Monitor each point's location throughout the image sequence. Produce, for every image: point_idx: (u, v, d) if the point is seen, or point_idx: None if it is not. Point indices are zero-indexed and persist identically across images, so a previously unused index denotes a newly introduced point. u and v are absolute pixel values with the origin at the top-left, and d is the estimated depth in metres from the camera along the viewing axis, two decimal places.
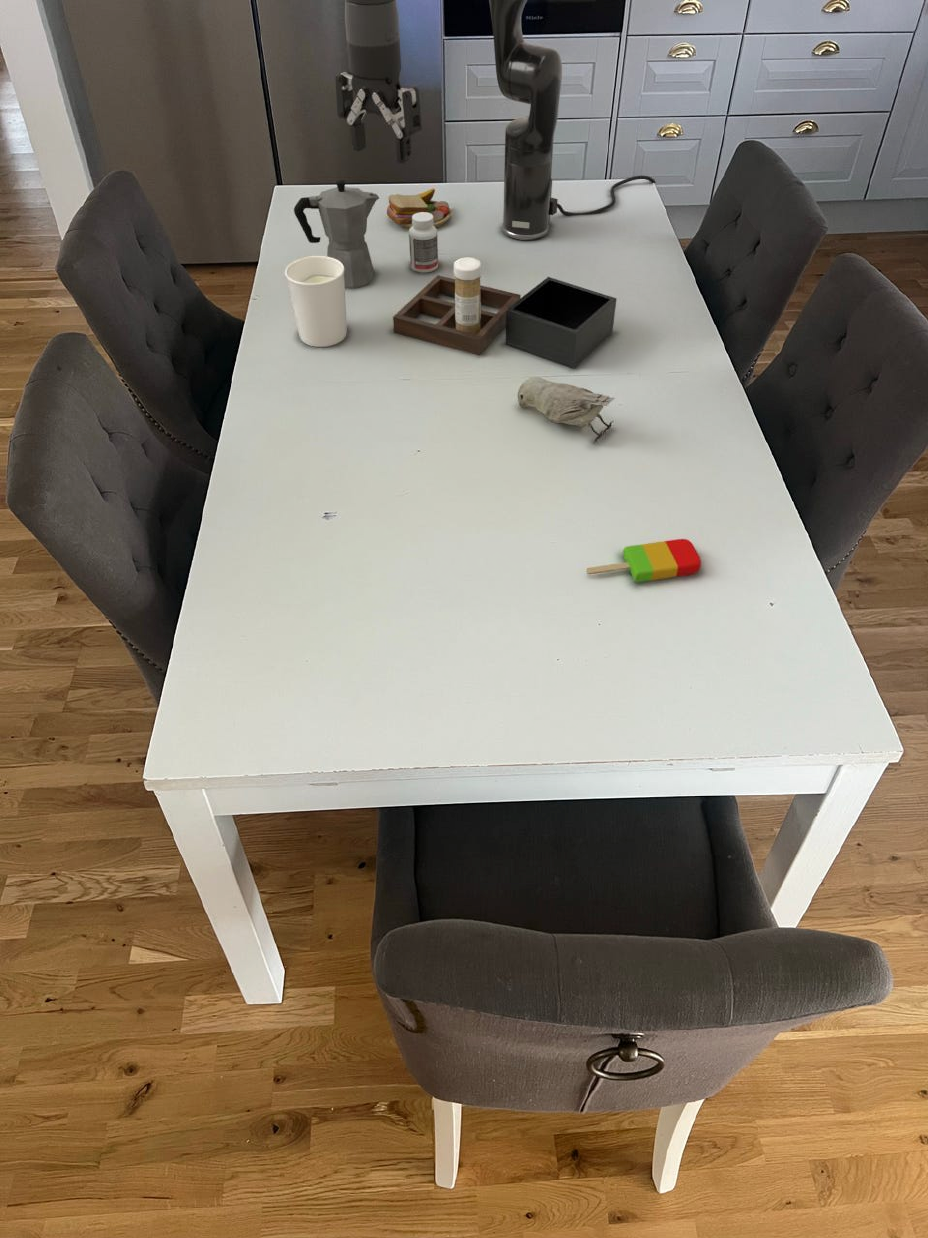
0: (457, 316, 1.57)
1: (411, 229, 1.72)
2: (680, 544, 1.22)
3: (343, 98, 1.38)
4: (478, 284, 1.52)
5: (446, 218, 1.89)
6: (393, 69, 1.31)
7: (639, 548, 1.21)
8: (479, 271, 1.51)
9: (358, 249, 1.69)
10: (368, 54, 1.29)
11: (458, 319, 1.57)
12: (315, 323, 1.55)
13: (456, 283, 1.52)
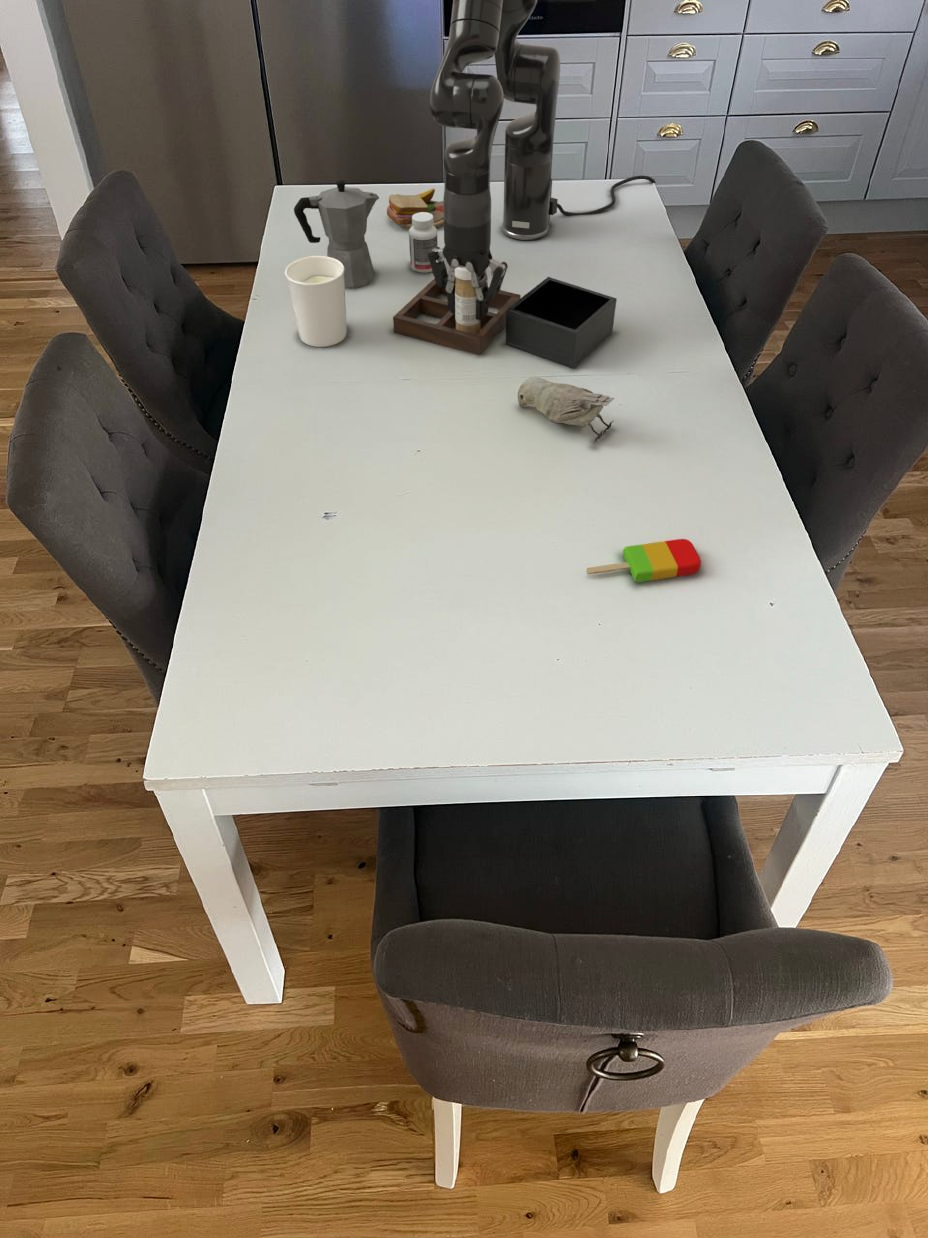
0: (457, 316, 1.57)
1: (411, 229, 1.72)
2: (680, 545, 1.22)
3: (439, 270, 1.53)
4: None
5: None
6: (486, 243, 1.46)
7: (639, 548, 1.21)
8: None
9: (358, 249, 1.69)
10: (467, 233, 1.44)
11: (458, 319, 1.57)
12: (315, 323, 1.55)
13: (456, 283, 1.52)
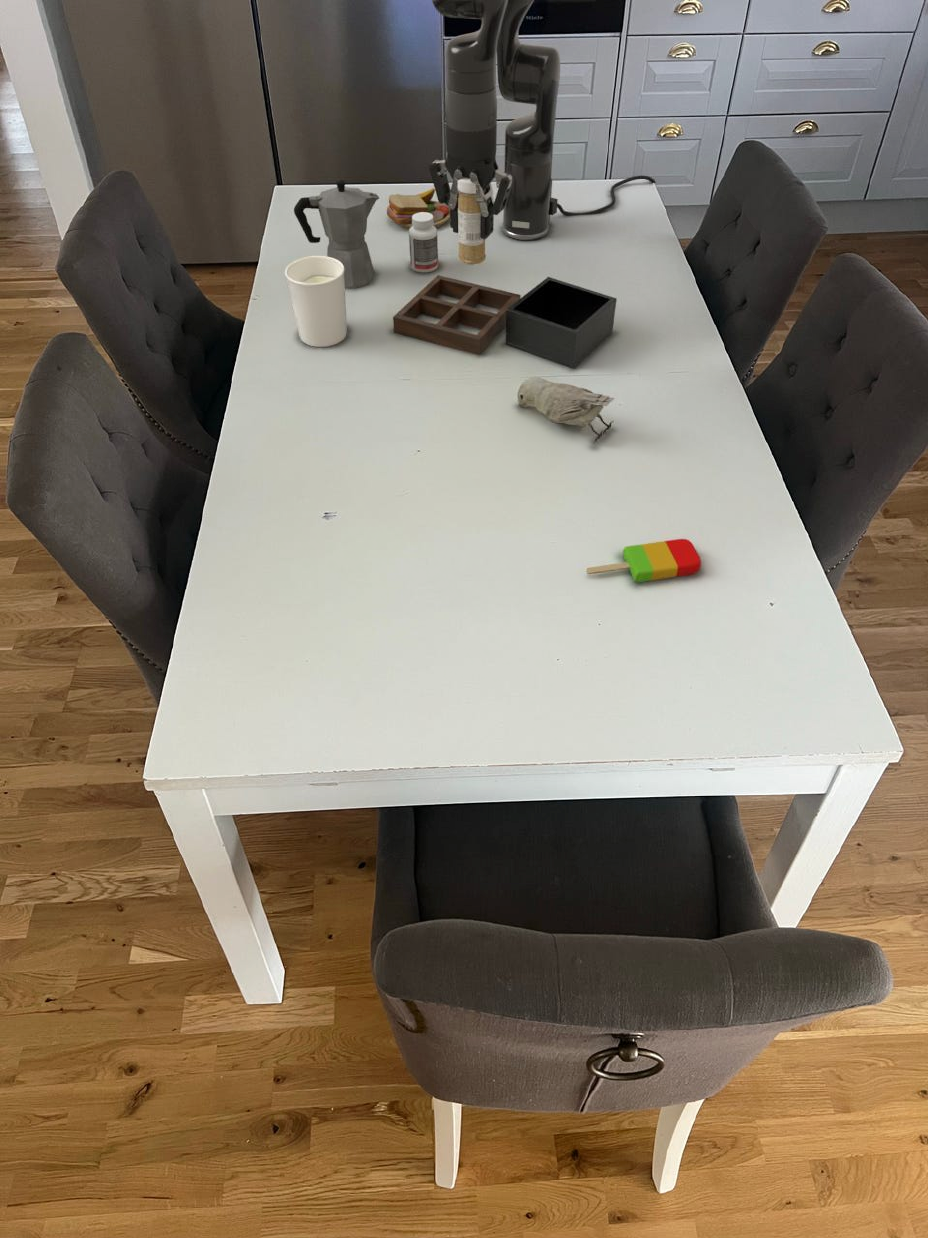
0: (460, 235, 1.46)
1: (411, 229, 1.72)
2: (680, 544, 1.22)
3: (441, 183, 1.43)
4: None
5: (446, 218, 1.89)
6: (492, 150, 1.36)
7: (639, 548, 1.21)
8: None
9: (358, 249, 1.69)
10: (471, 139, 1.33)
11: (461, 238, 1.46)
12: (315, 323, 1.55)
13: (459, 198, 1.42)
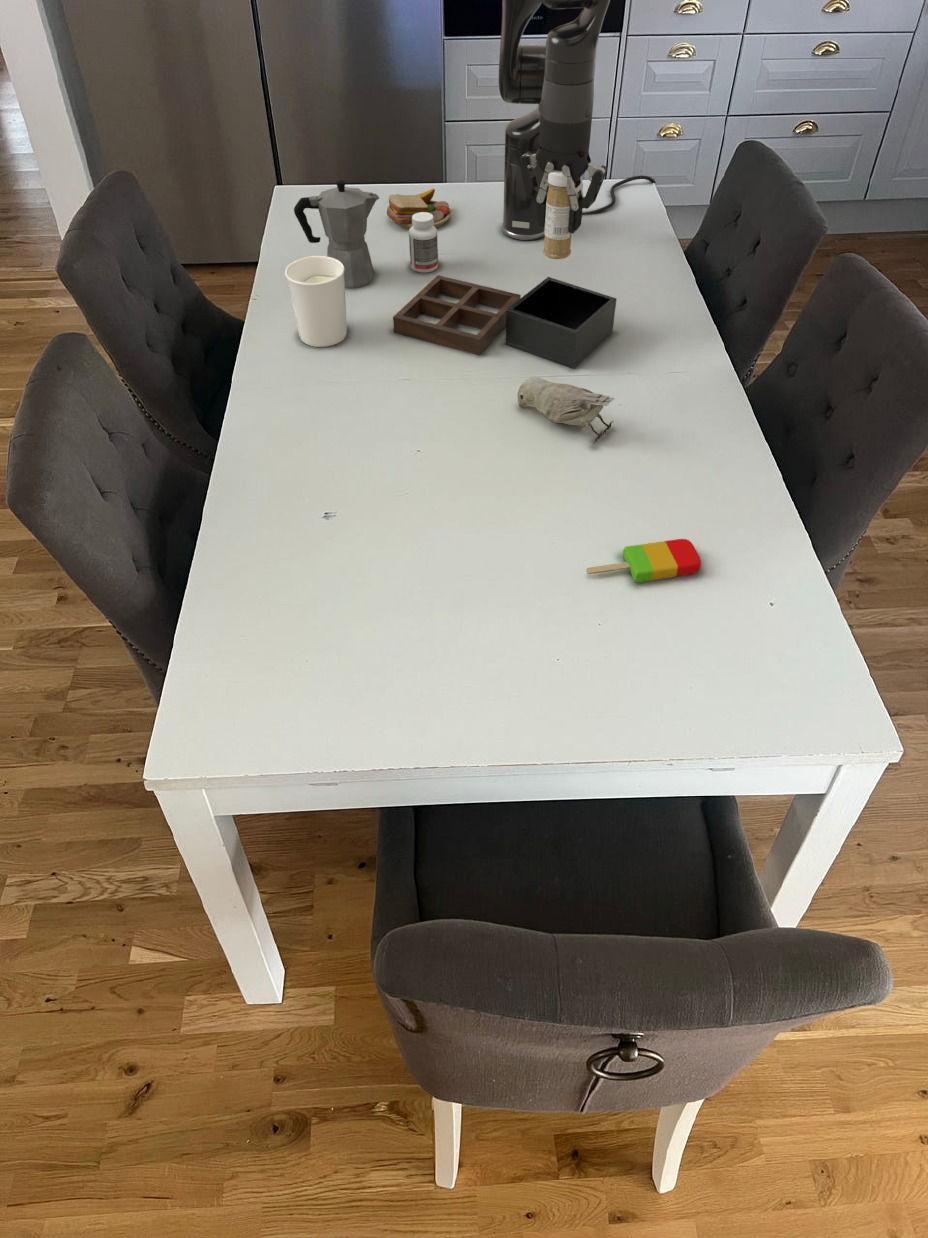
0: (547, 229, 1.45)
1: (411, 229, 1.72)
2: (680, 544, 1.22)
3: (530, 177, 1.41)
4: None
5: (446, 218, 1.89)
6: (586, 143, 1.34)
7: (639, 548, 1.21)
8: None
9: (358, 249, 1.69)
10: (567, 131, 1.32)
11: (548, 232, 1.45)
12: (315, 323, 1.55)
13: (549, 191, 1.41)
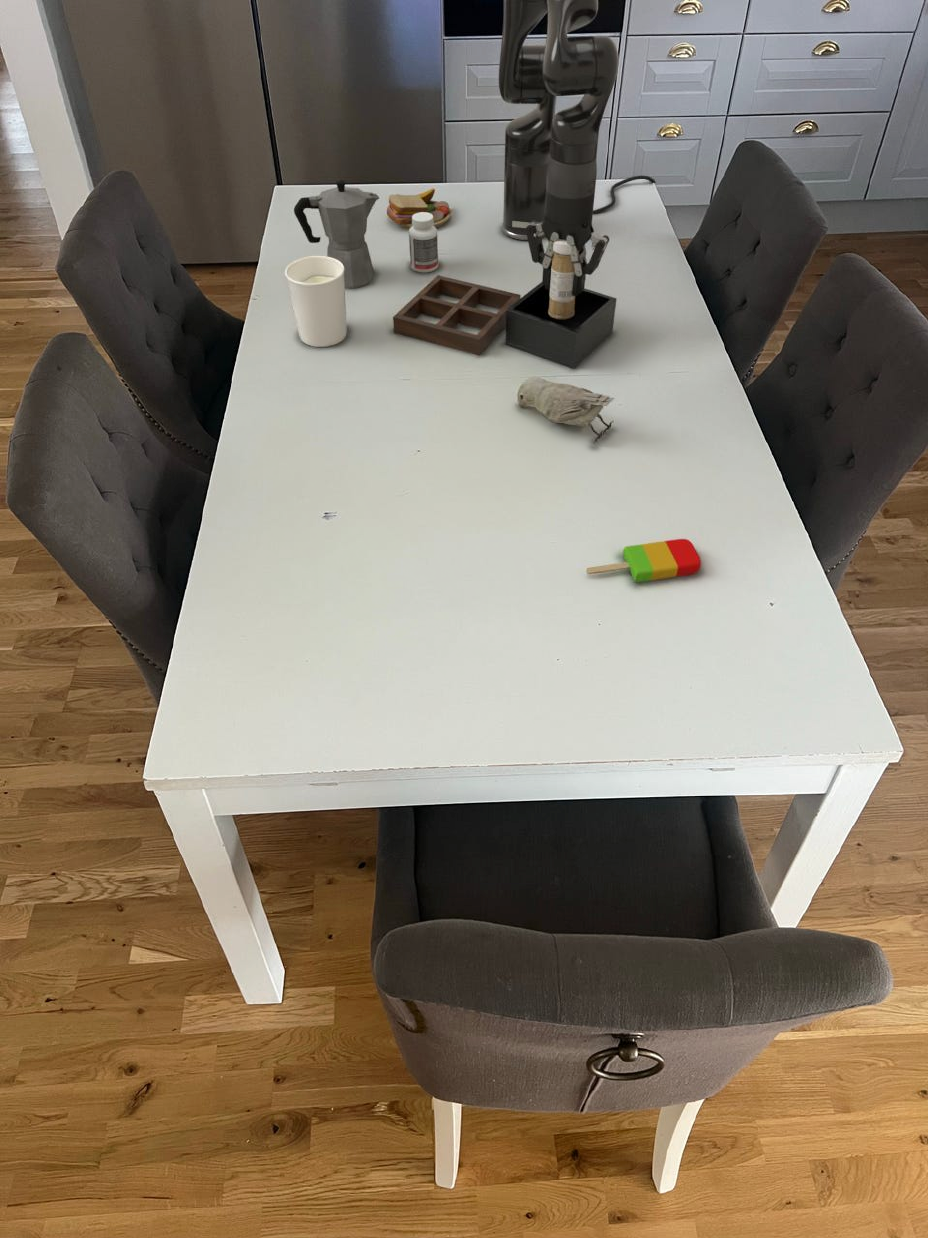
0: (552, 292, 1.52)
1: (411, 229, 1.72)
2: (680, 545, 1.22)
3: (536, 244, 1.49)
4: None
5: (446, 218, 1.89)
6: (590, 215, 1.42)
7: (639, 548, 1.21)
8: None
9: (358, 249, 1.69)
10: (571, 205, 1.40)
11: (553, 295, 1.52)
12: (315, 323, 1.55)
13: (554, 258, 1.48)
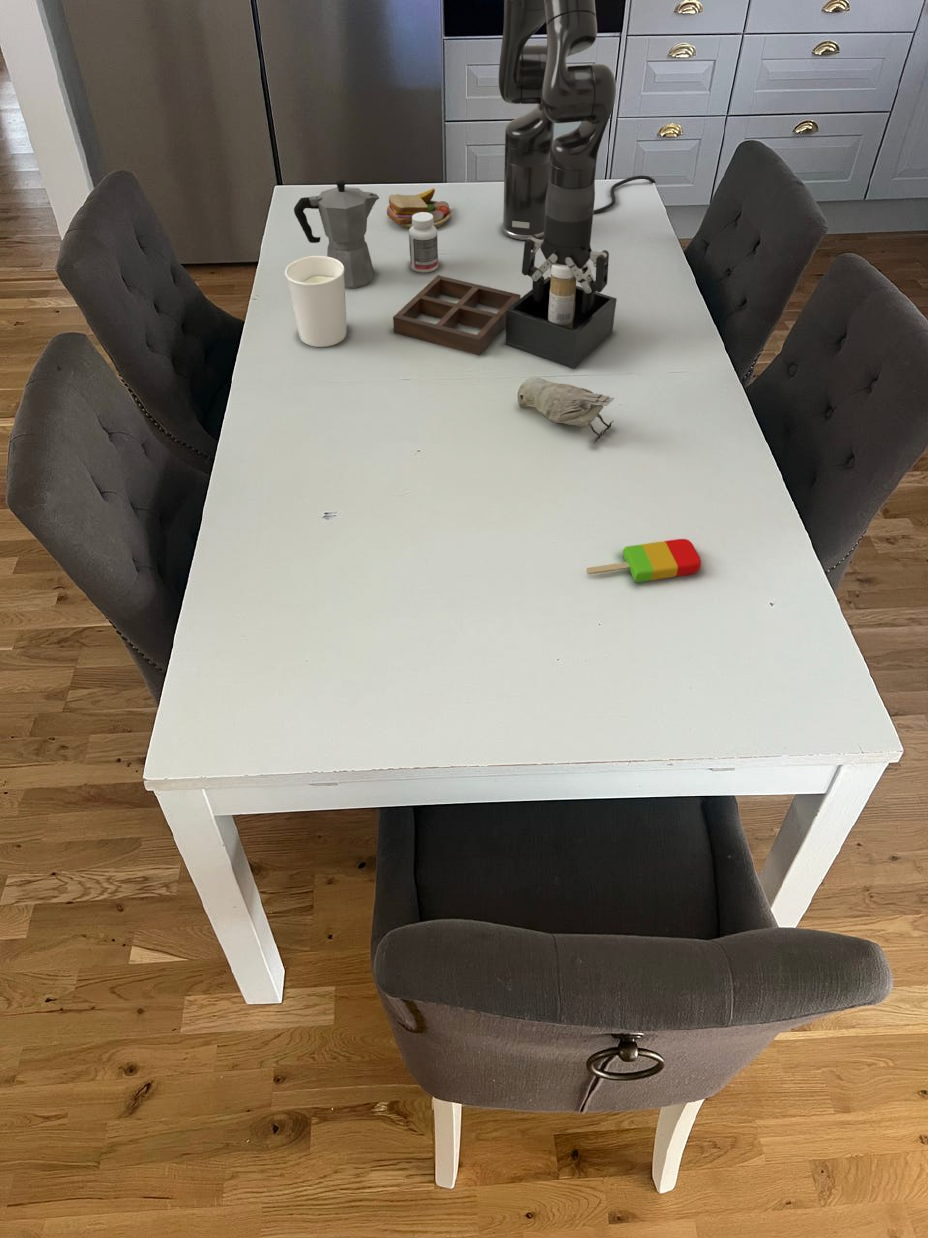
0: (551, 315, 1.55)
1: (411, 229, 1.72)
2: (680, 545, 1.22)
3: (530, 259, 1.51)
4: (574, 283, 1.51)
5: (446, 218, 1.89)
6: (588, 237, 1.45)
7: (639, 548, 1.21)
8: None
9: (358, 249, 1.69)
10: (570, 228, 1.42)
11: (552, 317, 1.56)
12: (315, 323, 1.55)
13: (552, 282, 1.51)
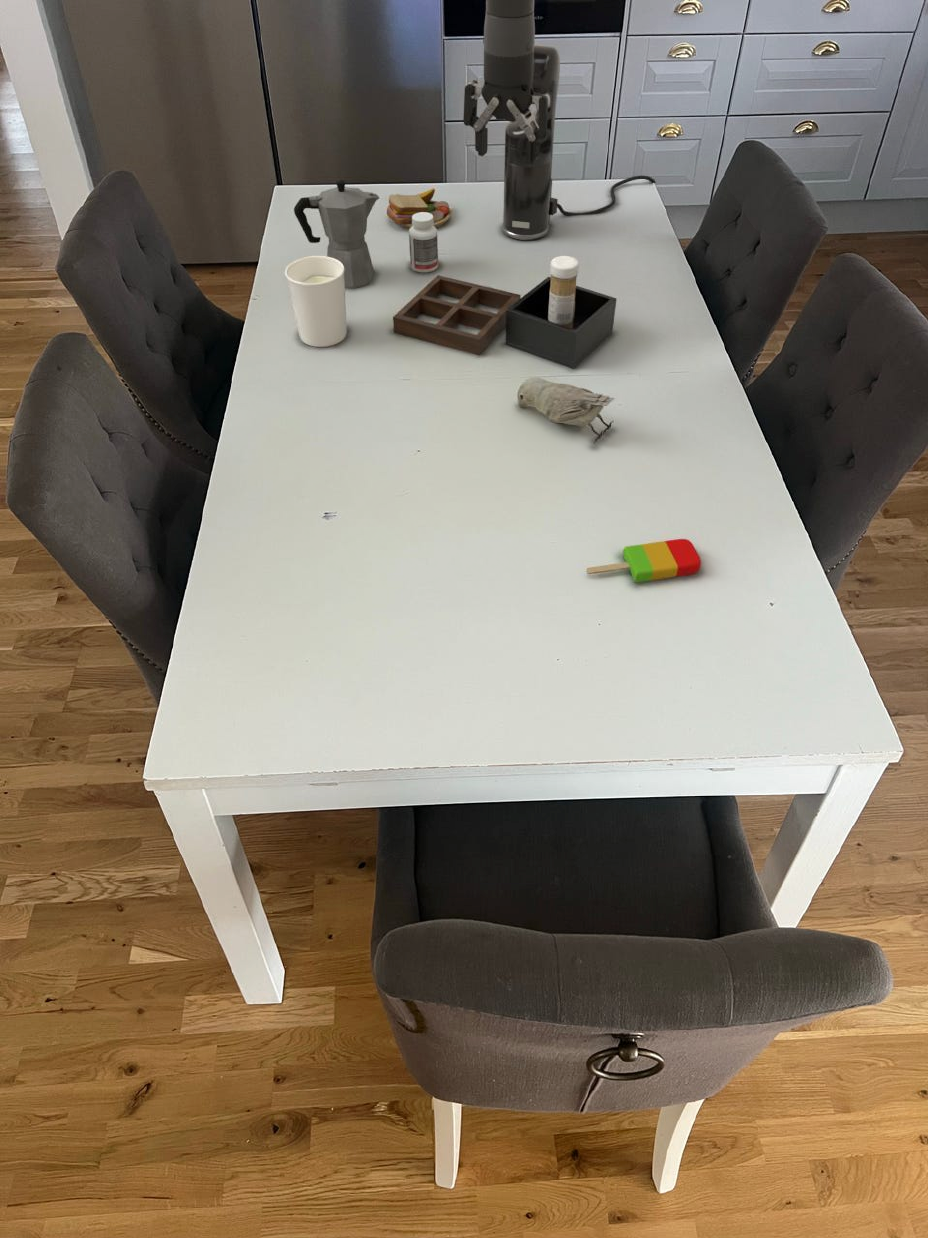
0: (551, 315, 1.55)
1: (411, 229, 1.72)
2: (680, 545, 1.22)
3: (471, 106, 1.45)
4: (574, 283, 1.51)
5: (446, 218, 1.89)
6: (529, 77, 1.38)
7: (639, 548, 1.21)
8: (576, 269, 1.50)
9: (358, 249, 1.69)
10: (509, 64, 1.36)
11: (552, 317, 1.56)
12: (315, 323, 1.55)
13: (552, 282, 1.51)
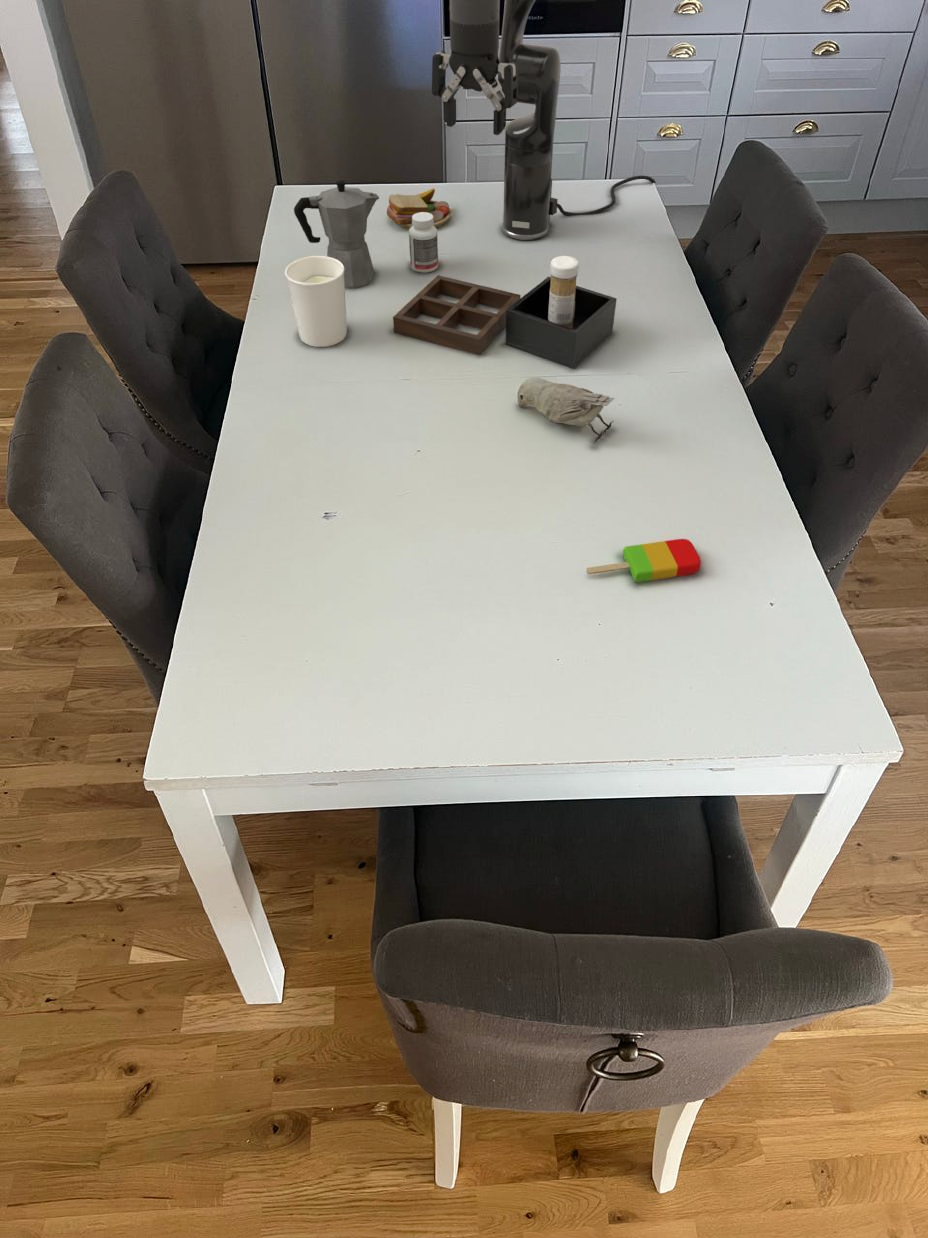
0: (551, 315, 1.55)
1: (411, 229, 1.72)
2: (680, 545, 1.22)
3: (439, 76, 1.47)
4: (574, 283, 1.51)
5: (446, 218, 1.89)
6: (495, 46, 1.40)
7: (639, 548, 1.21)
8: (576, 269, 1.50)
9: (358, 249, 1.69)
10: (474, 32, 1.38)
11: (552, 317, 1.56)
12: (315, 323, 1.55)
13: (552, 282, 1.51)
